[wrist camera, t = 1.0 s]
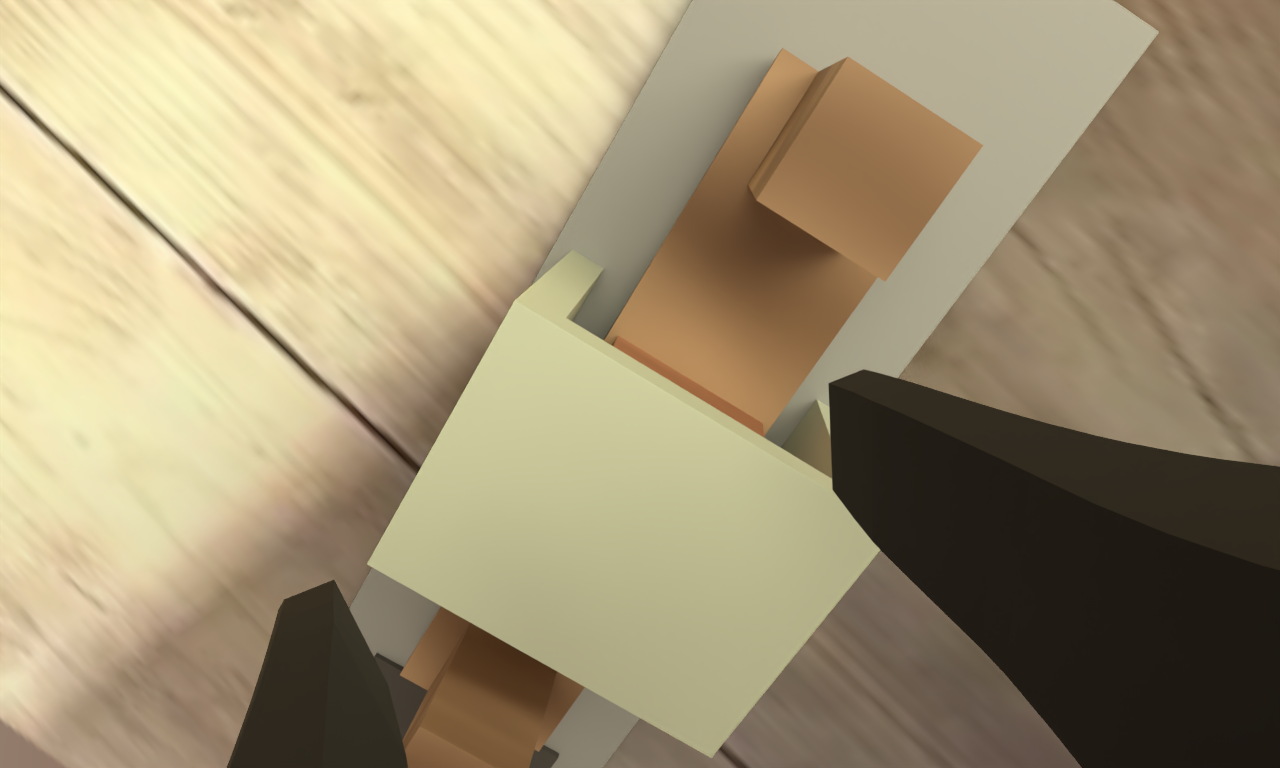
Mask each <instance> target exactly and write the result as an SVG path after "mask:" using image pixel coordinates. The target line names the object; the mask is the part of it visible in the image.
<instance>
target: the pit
mask: <svg viewBox="0 0 1280 768" xmlns="http://www.w3.org/2000/svg"><path fill="white" fill-rule="evenodd" d="M374 658H375V660H376V662H377V664H378V666H379V668H380V670H381V672H382V674H383V676H384V678H385V679H386V681H387V683H388V686H389V690H390V694H391V698H392V702H393V706H394V709H395V713H396V717H397V721H398V725H399V729H400V733H401V737H402V740H403V739H404V737H405V735H406V733H407V731H408V729H409V727H410V725H411V723H412V721H413V719H414V717H415V715H416V713H417V711H418V709H419V707H420V705H421V703H422V701H423V699H424V697H425V695H426V693H427V691H428V690H426V689H424V688H422V687H420V686H419V685H417V684H415V683H413V682H411V681H409V680H408V679H406V678H404V677H402V676H400V674H401V672H402V670H403V668H404V667H402V666H400V665H399V664H397V663H395V662H393V661H391V660H390V659H388V658H386V657H384V656H382V655H381V654H379V653H376V655H375V656H374ZM558 757H559V753H558V752H556V751H554V750H552V749H550V748H549V747H547V746H545V745H543V747H542V748H541V749H540V751H539V752H538V751H536V750H534V752H533V756H532V759H531V763H530V766H529V768H551V767H552V766H553V764H554V763H555V762H556V760H557V759H558Z"/></svg>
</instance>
